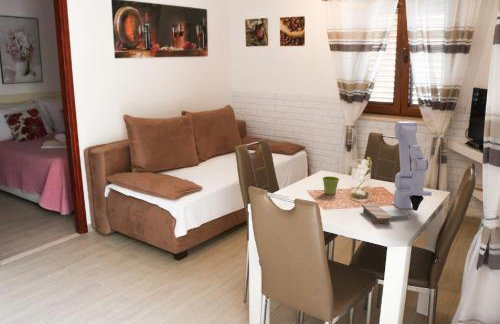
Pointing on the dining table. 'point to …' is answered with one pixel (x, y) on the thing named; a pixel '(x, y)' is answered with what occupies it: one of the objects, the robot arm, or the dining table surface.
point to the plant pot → (330, 184)
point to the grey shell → (397, 214)
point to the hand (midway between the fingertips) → (414, 210)
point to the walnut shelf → (376, 213)
